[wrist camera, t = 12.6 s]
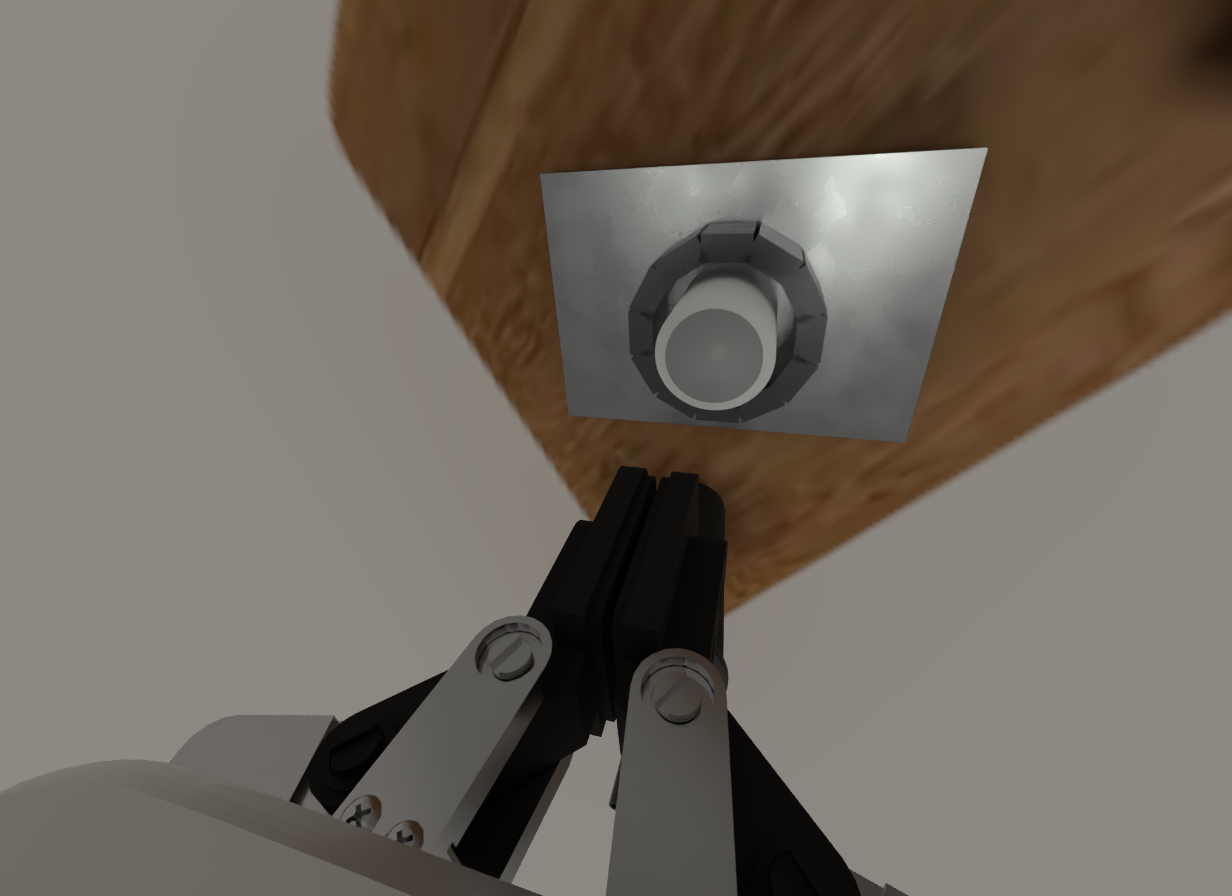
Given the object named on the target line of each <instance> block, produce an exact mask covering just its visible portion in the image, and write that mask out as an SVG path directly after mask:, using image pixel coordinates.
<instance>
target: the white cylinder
mask: <svg viewBox="0 0 1232 896" xmlns="http://www.w3.org/2000/svg"><path fill="white" fill-rule="evenodd" d="M776 339H777V297H776V293H775V290H774V288H773V286H772V284H771V282H770V281H769V279H768V278H767V277H766V276H765V275H764V274H763V273H762V272H760V271H758V270H757V269H755V268H754V267H752V266H750V265H749V264H746V263H717V264H714V265H712V266H710V267H708V268H706V269H704V270H703V271H702V272H700V273H699V274H698V275H697V276H696V277H695V278H694V279H693V280H692V281H691V283H690V284H689V286H688V287H687V289H686V291H685V292H684V294H683V295H682V297H681V298H680V300H679V301H678V303H677V304H676V306H675V307H674V309H673V310H672V312H671V313H670V315H669V316H668V318H667V319H666V321H665V322H664V324H663V326H662V327H661V329H660V332H659V334H658V337H657V340H656V346H655V360H656V365H657V370H658V372H659V375H660V377H661V379H662V381H663V382H664V384H665V385H666V387H667V388H668V389H669V390H670V391H671V392H672V393H673V394H674V395H675V396H676V397H677V398H679V399H680V400H682V401H683V402H685V403H687V404H689V405H691V406H694V407H697V408H701V409H706V410H725V409H730V408H734V407H737V406H740V405H742V404H744V403H746V402H748V401H749V400H751V399H752V398H754V397H755V396H756V395H757V394H758V393H760V392H761V390H762V389H763V388H764V387H765V386H766V384H767V382H768V381H769V379H770V377H771V375H772V373H773V370H774V366H775V361H776Z"/></svg>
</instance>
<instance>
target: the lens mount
mask: <svg viewBox="0 0 1232 896" xmlns="http://www.w3.org/2000/svg"><path fill="white" fill-rule="evenodd" d="M987 150H988V148H986V147H968V148H951V149H934V150H917V151H900V152H884V153H867V154H850V155H833V156H817V157H800V158H783V159H766V160H749V161H733V162H716V163H699V164H682V165H666V166H649V167H632V168H615V169H599V170H582V171H565V172H552V173H544V174H540V179H541V187H542V195H543V204H544V212H545V220H546V229H547V237H548V245H549V254H550V262H551V271H552V279H553V287H554V296H555V304H556V312H557V321H558V329H559V337H560V346H561V354H562V362H563V371H564V379H565V387H566V396H567V404H568V412H569V415H573V416H585V417H598V418H610V419H622V420H635V421H647V422H659V423H671V424H684V425H696V426H708V427H721V428H733V429H745V430H758V431H770V432H782V433H795V434H807V435H819V436H831V437H844V438H856V439H868V440H881V441H893V442H905V443H906V439H907V436H908V432H909V429H910V425H911V421H912V418H913V414H914V411H915V407H916V404H917V400H918V396H919V393H920V389H921V386H922V382H923V378H924V375H925V371H926V368H927V364H928V361H929V357H930V353H931V350H932V346H933V343H934V339H935V336H936V332H937V328H938V325H939V321H940V318H941V314H942V311H943V307H944V303H945V300H946V296H947V293H948V289H949V286H950V282H951V278H952V275H953V271H954V268H955V264H956V260H957V257H958V253H959V250H960V246H961V243H962V239H963V235H964V232H965V228H966V225H967V221H968V218H969V214H970V210H971V207H972V203H973V200H974V196H975V193H976V189H977V185H978V182H979V178H980V175H981V171H982V168H983V164H984V160H985V157H986V153H987ZM717 263H746V264H749V265H750V266H752V267H754V268H755V269H757V270H758V271H760V272H762V273H763V274H764V275H765V276H766V277H767V278H768V279H769V281H770V282H771V284H772V286H773V288H774V290H775V293H776V297H777V339H776V361H775V366H774V370H773V373H772V375H771V377H770V379H769V381H768V382H767V384H766V386H765V387H764V388H763V389H762V390H761V392H760V393H758V394H757V395H756V396H755V397H754V398H752V399H751V400H749V401H748V402H746V403H744V404H742V405H740V406H737V407H734V408H730V409H725V410H706V409H701V408H697V407H694V406H691V405H689V404H687V403H685V402H683V401H682V400H680V399H679V398H677V397H676V396H675V395H674V394H673V393H672V392H671V391H670V390H669V389H668V388H667V387H666V385H665V384H664V382H663V381H662V379H661V377H660V375H659V372H658V370H657V365H656V360H655V346H656V340H657V337H658V334H659V332H660V329H661V327H662V326H663V324H664V322H665V321H666V319H667V318H668V316H669V315H670V313H671V312H672V310H673V309H674V307H675V306H676V304H677V303H678V301H679V300H680V298H681V297H682V295H683V294H684V292H685V291H686V289H687V287H688V286H689V284H690V283H691V281H692V280H693V279H694V278H695V277H696V276H697V275H698V274H699V273H700V272H702V271H703V270H704V269H706V268H708V267H710V266H712V265H714V264H717Z"/></svg>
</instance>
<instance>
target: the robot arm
mask: <svg viewBox="0 0 1232 896" xmlns="http://www.w3.org/2000/svg"><path fill="white" fill-rule="evenodd" d="M698 492H699V475H698V474H691V473H682V472H672V473H671V476H670V478H666V477H662V478H661V480H660V483H659V486H658V489H657V491H656V478H655V476H649V475H648V472H647V469H646V468H637V467H628V466H621V467H620V468H619V470H618V472H617V474H616V476H615V478H614V480H613V482H612V484H611V486H610V488H609V490H608V492H607V494H606V497H605V499H604V501H603V503H602V505H601V507H600V509H599V511H598V513H597V515H596V517H595V519H594V521H593V522H592V521H585V520H579V521H578V522H577V523H576V524H575V526H574V527H573V529H572V531H571V533H570V535H569V537H568V538H567V540H566V542H565V544H564V546H563V548H562V550H561V552H560V554H559V555H558V557H557V559H556V561H555V563H554V565H553V567H552V569H551V570H550V572H549V574H548V576H547V578H546V580H545V582H544V584H543V585H542V587H541V589H540V591H539V593H538V595H537V597H536V599H535V601H534V602H533V605H532V606H531V608H530V610H529V612H528V614H527V616H508V617H505V618H502V619H499V620H496V621H494V622H493V623H491V624H489V625H488V626H486V627H485V628H484V629H482V631H480V632H479V633H478V634H477V635H476V636H475V637H474V639H473V640H472V641H471V642H470V644H469V645H468V646H467V647H466V649H465V650H464V651H463V652H462V654H461V655H460V656H459V657H458V659H457V660H456V661H455V662H454V664H453V665H452V666H451V667H450V669H449V670H447V671H445V672H443V673H440V674H438V675H436V676H434V677H432V678H430V679H428V680H426V681H423V682H421V683H419V684H417V685H415V686H413V687H411V688H409V689H407V690H404V691H402V692H400V693H398V694H396V695H394V696H392V697H390V698H388V699H385V700H384V701H381V702H379V703H377V704H375V705H373V706H371V707H368V708H366V709H364V710H362V711H360V712H358V713H356V714H354V715H352V716H351V717H349V718H347V719H346V720H344V721H337V719H336V718H335V716H313V715H312V716H309V715H307V716H304V715H300V716H299V715H236V716H231V717H225V718H222V719H220V720H217V721H215V722H213V723H211V724H209V725H207V726H206V727H204V728H203V729H202V730H200V731H199V732H197V733H196V734H195V735H193V736H192V737H191V738H190V739H189V740H188V741H187V743H185V745H183V747H182V748H181V749H180V750H179V751H178V752H177V753H176V755H175V756H174V757H173V759H172V760H171V761H170V763H164V762H156V761H148V760H113V761H103V762H95V763H90V764H85V765H80V766H75V767H70V768H65V769H62V770H58V771H54V772H50V773H47V774H44V775H41V776H38V777H35V778H32V779H29V780H26V781H24V782H21V783H18V784H16V785H14V786H12V787H10V788H8V789H6V790H3V791H1V792H0V896H542V895H539V894H536V893H534V892H531V891H529V890H526V889H523V888H521V887H518V886H515V885H513V884H511V883H512V881H513V879H514V877H515V875H516V873H517V871H518V868H519V867H520V865H521V862H522V860H523V859H524V856H525V855H526V852H527V850H528V848H529V846H530V844H531V842H532V840H533V838H534V836H535V834H536V832H537V830H538V828H539V826H540V824H541V822H542V820H543V818H544V816H545V814H546V812H547V810H548V808H549V806H550V804H551V802H552V800H553V798H554V796H555V794H556V792H557V790H558V788H559V786H560V783H561V782H562V780H563V778H564V776H565V774H566V772H567V769H568V767H569V765H570V762H571V759H572V756H573V752H575V751H576V750H578V749H580V748H582V747H583V746H585V745H586V744H587V741H588V738H589V735H590V734H592V735H595V736H599V737H601V736H602V732H603V729H604V726H605V722H606V720H608V721H612V722H614V721H615V720H616V719H617V727H618V735H619V745H620V753H621V756H622V762H621V770H620V779H619V787H618V796H617V804H616V813H615V821H614V830H613V840H612V847H611V856H610V864H609V872H608V881H607V889H606V896H908V895H906V894H905V893H903V892H901V891H899V890H897V889H896V888H893V887H892V886H890V885H888V884H887V883H886V884H885V886H884V887H883V888H882V887H880V886H878V885H877V884H875V883H873V882H871V881H870V880H868V879H866V878H864V877H863V876H861V875H859V874H857V873H856V872H854V871H852V870H850V869H849V868H848V866H847V865H846V863H845V862H844V860H843V858H842V857H841V856H840V854H839V853H838V852H837V851H836V849H835V848H834V847H833V845H832V844H831V843H830V841H829V840H828V839H827V838H826V836H825V835H824V834H823V832H822V831H821V830H820V829H819V827H818V826H817V825H816V823H815V822H814V821H813V819H812V818H811V817H810V816H809V814H808V813H807V812H806V810H805V809H804V808H803V806H802V805H801V804H800V803H799V801H798V800H797V799H796V797H795V796H794V795H793V794H792V792H791V791H790V790H789V788H788V787H787V786H786V784H785V783H784V782H783V781H782V779H781V778H780V777H779V775H778V774H777V773H776V772H775V770H774V769H773V768H772V766H771V765H770V764H769V762H768V761H767V760H766V759H765V757H764V756H763V755H762V753H761V752H760V751H759V749H758V748H757V747H756V746H755V744H754V743H753V742H752V740H751V739H750V738H749V737H748V735H747V734H746V733H745V731H744V730H743V729H742V727H741V726H740V725H739V724H738V723H737V721H736V720H735V718H734V717H733V716H732V714H731V713H730V712H729V711H728V709H727V698H726V690H725V686H724V681H723V679H722V677H721V675H720V674H719V672H718V670H717V669H716V667H715V666H714V658H715V651H716V644H717V636H718V629H719V622H720V615H721V607H722V600H723V591H724V582H725V571H726V559H727V541H723V540H716V539H709V538H702V537H697V527H698Z"/></svg>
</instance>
